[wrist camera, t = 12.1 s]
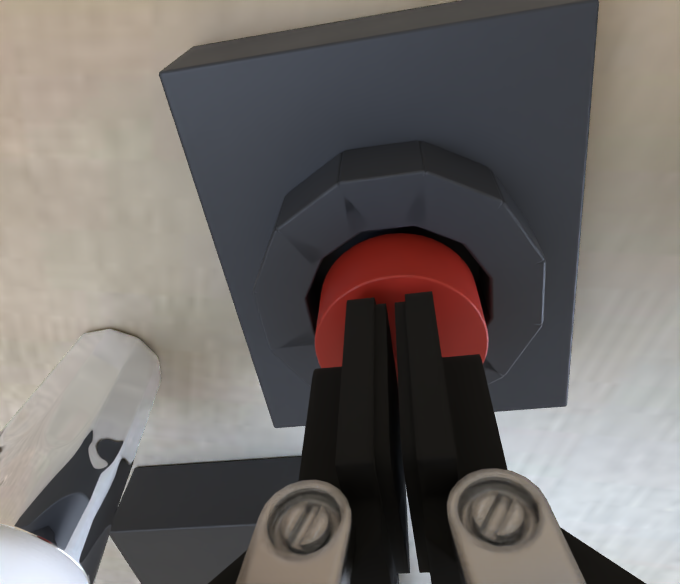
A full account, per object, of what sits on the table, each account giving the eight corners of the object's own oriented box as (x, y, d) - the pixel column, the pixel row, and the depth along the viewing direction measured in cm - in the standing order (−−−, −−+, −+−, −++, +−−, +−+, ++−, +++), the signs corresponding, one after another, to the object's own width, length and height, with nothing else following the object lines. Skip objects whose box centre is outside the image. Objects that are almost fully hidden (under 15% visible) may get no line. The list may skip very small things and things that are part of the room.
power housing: (545, 348, 19) (586, 456, 15) (285, 371, 20) (264, 476, 17) (562, -18, 13) (635, 12, 9) (191, 46, 14) (125, 95, 11)
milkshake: (170, 298, 19) (7, 607, 10) (186, 412, 22) (69, 722, 13) (34, 287, 19) (-235, 587, 10) (69, 402, 22) (-119, 705, 14)
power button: (479, 352, 14) (490, 403, 13) (334, 365, 14) (330, 416, 13) (474, 223, 12) (487, 266, 11) (307, 242, 12) (298, 285, 11)
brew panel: (410, 607, 29) (413, 677, 26) (215, 613, 30) (200, 679, 28) (381, 450, 22) (381, 522, 20) (134, 466, 24) (104, 536, 21)
